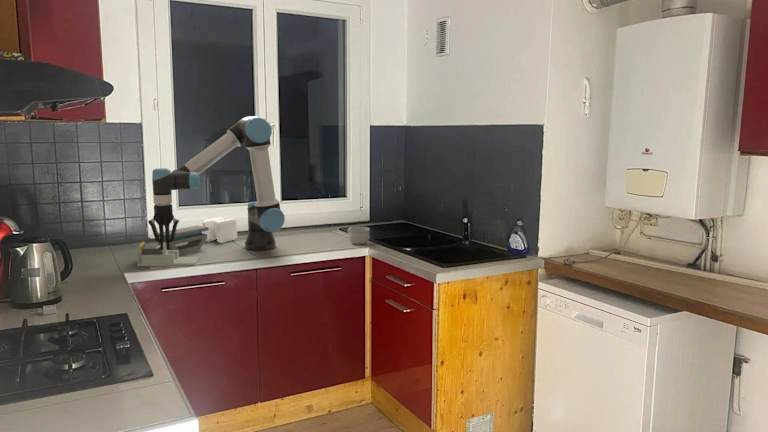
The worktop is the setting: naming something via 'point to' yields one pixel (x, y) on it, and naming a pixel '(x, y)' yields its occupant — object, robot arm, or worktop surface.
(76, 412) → the worktop surface
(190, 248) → the sharpening stone
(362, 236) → the teacup
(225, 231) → the cable organizer
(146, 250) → the plug
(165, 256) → the header
